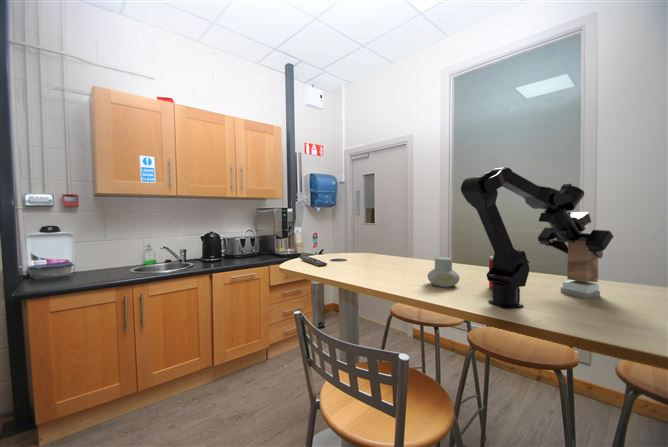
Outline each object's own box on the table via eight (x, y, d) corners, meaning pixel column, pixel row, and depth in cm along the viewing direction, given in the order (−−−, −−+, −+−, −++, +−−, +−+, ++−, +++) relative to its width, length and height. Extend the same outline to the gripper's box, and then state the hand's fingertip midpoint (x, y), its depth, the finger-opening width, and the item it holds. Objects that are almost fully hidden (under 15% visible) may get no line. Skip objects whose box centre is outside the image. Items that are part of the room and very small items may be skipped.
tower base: (584, 300, 89) (584, 293, 89) (560, 294, 96) (560, 287, 95) (599, 298, 91) (600, 291, 91) (575, 292, 98) (575, 285, 98)
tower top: (587, 293, 89) (587, 286, 89) (562, 288, 95) (563, 281, 95) (598, 290, 91) (598, 283, 91) (574, 285, 97) (574, 279, 97)
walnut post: (587, 281, 89) (587, 239, 90) (567, 279, 95) (568, 239, 95) (597, 282, 91) (598, 241, 92) (577, 279, 96) (578, 240, 97)
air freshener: (457, 283, 109) (457, 256, 109) (461, 289, 101) (461, 260, 101) (426, 281, 112) (426, 256, 111) (428, 287, 103) (428, 259, 103)
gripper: (610, 202, 82) (633, 239, 86) (544, 203, 100) (566, 234, 103) (590, 231, 80) (615, 267, 84) (526, 227, 98) (549, 258, 101)
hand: (584, 255), depth 93 cm, fingers open, 9 cm apart
